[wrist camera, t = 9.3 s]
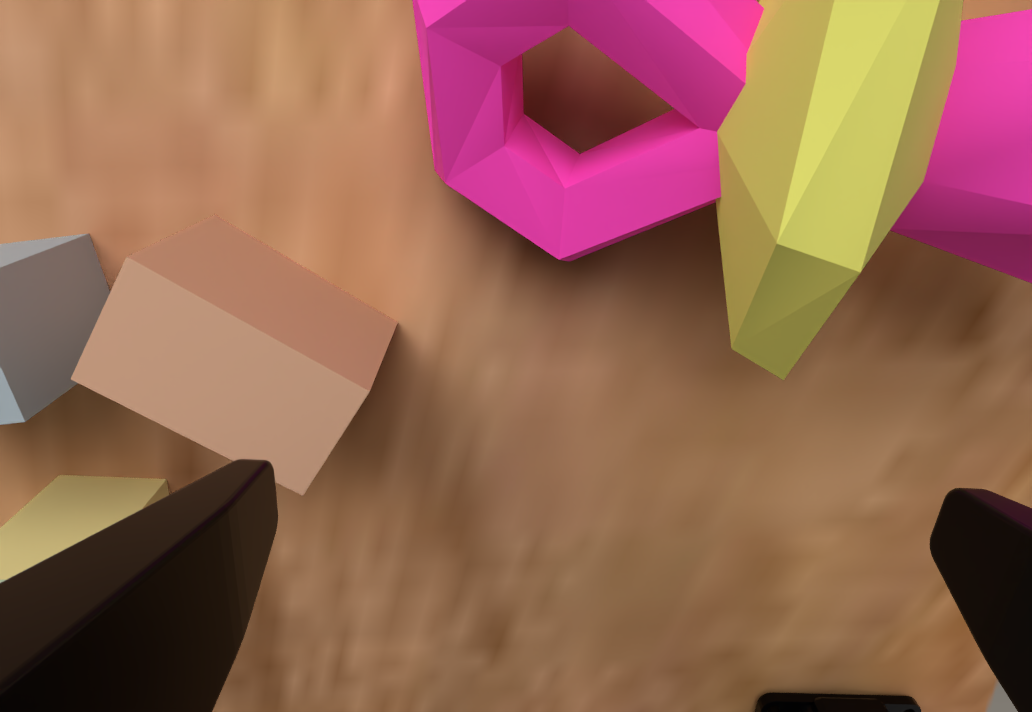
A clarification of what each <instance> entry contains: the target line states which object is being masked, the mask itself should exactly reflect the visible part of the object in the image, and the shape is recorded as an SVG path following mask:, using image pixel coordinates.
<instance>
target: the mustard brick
mask: <svg viewBox="0 0 1032 712" xmlns="http://www.w3.org/2000/svg"><path fill="white" fill-rule="evenodd" d="M168 495H169V490H168V484H167V479H152V478H127V477H101V476H75V475H59V476H57V477H56V478H55V479H54V480H53V481H52V482H51V483H50V484H49V485H47V486H46V487H45V488H44V489H43V490H42V491H41V492H40V493H39V494H37V495H36V496H35V497H34V498H33V499H32V500H31V501H30V502H29V503H28V504H26V505H25V506H24V507H23V508H22V509H21V510H20V511H19V512H18V513H16V514H15V515H14V516H13V517H12V518H11V519H10V520H9V521H8V522H6V523H5V524H4V525H3V526H2V527H1V528H0V580H7V579H9V578H11V577H12V576H14V575H16V574H18V573H20V572H22V571H24V570H26V569H28V568H30V567H32V566H34V565H36V564H37V563H39V562H41V561H43V560H45V559H47V558H49V557H51V556H53V555H55V554H57V553H59V552H61V551H62V550H64V549H66V548H68V547H70V546H72V545H74V544H76V543H78V542H80V541H82V540H84V539H85V538H87V537H89V536H91V535H93V534H95V533H97V532H99V531H101V530H103V529H105V528H107V527H109V526H110V525H112V524H114V523H116V522H118V521H120V520H122V519H124V518H126V517H128V516H130V515H132V514H133V513H135V512H137V511H139V510H141V509H143V508H145V507H147V506H149V505H151V504H153V503H155V502H157V501H158V500H160V499H162V498H164V497H166V496H168Z"/></svg>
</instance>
